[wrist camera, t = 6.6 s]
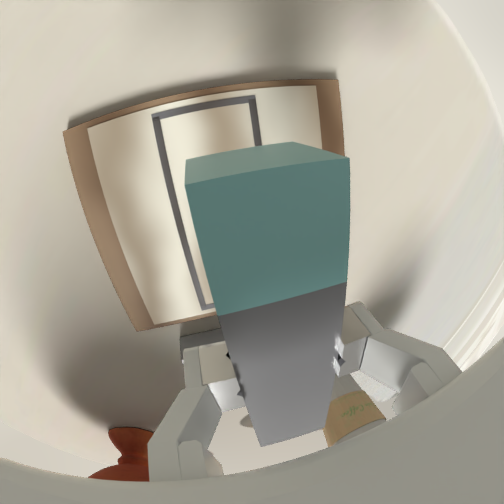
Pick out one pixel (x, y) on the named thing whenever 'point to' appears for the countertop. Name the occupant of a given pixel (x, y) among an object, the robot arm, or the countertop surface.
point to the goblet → (128, 456)
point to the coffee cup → (349, 412)
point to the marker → (276, 274)
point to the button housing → (200, 340)
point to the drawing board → (180, 180)
